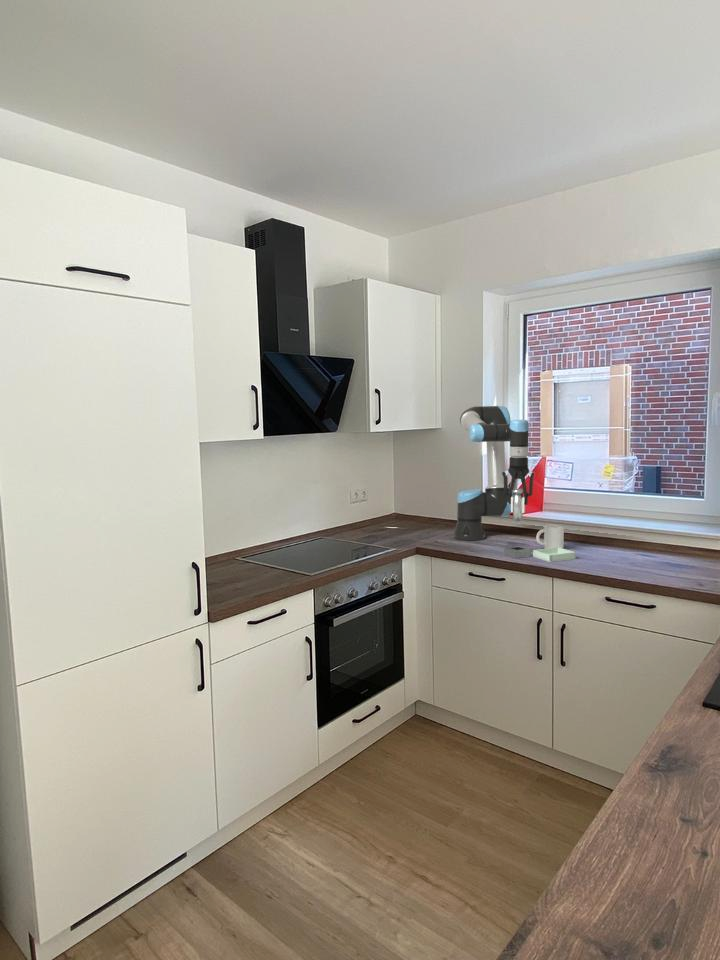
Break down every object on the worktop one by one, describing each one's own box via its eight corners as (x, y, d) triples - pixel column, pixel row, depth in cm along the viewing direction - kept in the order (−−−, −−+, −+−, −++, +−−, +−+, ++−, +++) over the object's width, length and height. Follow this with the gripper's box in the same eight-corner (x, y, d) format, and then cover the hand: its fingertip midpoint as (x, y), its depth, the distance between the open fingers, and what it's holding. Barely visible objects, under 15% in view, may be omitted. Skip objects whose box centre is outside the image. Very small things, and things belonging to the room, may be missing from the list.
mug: (539, 551, 270) (539, 528, 269) (533, 547, 278) (533, 524, 277) (566, 550, 270) (566, 527, 269) (559, 546, 279) (559, 524, 278)
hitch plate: (504, 554, 265) (504, 547, 264) (519, 552, 268) (519, 545, 267) (515, 558, 257) (515, 551, 257) (531, 556, 260) (531, 549, 260)
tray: (532, 556, 260) (533, 550, 260) (557, 553, 265) (557, 547, 265) (550, 562, 250) (550, 555, 250) (575, 558, 255) (575, 552, 254)
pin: (512, 519, 265) (512, 488, 263) (525, 519, 263) (526, 489, 261) (509, 521, 260) (510, 490, 258) (523, 522, 257) (524, 490, 256)
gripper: (496, 457, 258) (495, 512, 261) (538, 457, 251) (537, 514, 254) (499, 455, 265) (499, 509, 267) (540, 456, 258) (539, 511, 261)
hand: (517, 511), depth 261 cm, fingers closed on pin, 4 cm apart
